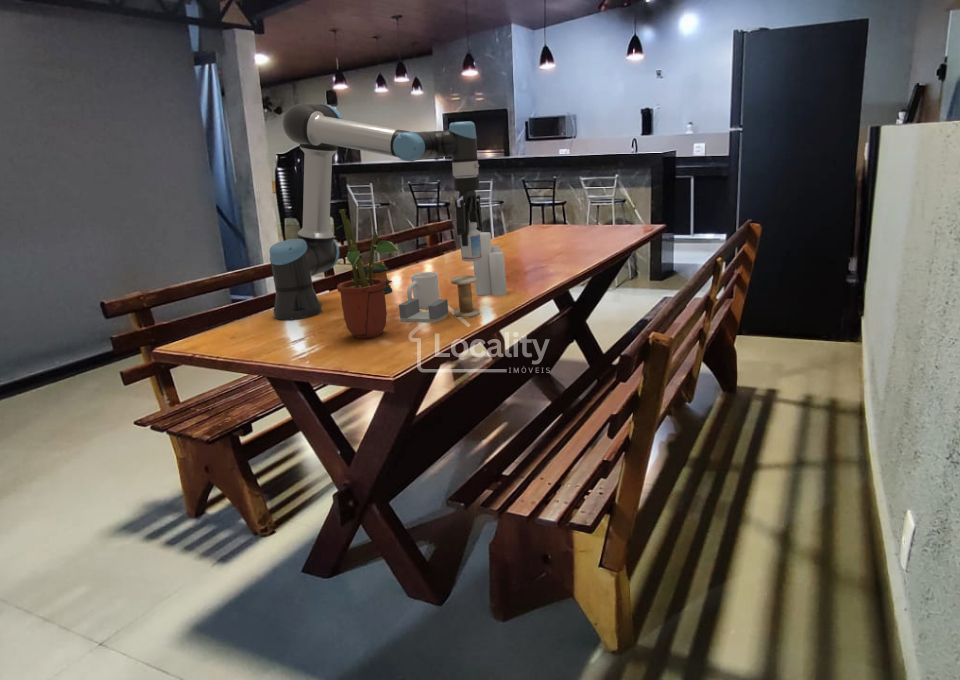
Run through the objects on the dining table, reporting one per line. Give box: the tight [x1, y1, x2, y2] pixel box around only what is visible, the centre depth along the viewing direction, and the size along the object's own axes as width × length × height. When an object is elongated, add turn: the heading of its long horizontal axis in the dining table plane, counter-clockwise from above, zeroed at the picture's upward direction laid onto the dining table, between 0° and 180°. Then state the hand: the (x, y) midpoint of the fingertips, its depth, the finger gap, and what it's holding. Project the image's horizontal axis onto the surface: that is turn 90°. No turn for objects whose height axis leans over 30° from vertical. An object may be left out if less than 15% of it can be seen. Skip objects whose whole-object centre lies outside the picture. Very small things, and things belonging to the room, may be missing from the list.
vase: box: [472, 231, 508, 297], centre depth 222 cm, size 11×7×20 cm, turn 66°
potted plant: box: [336, 208, 401, 340], centre depth 183 cm, size 17×16×35 cm
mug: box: [406, 271, 441, 310], centre depth 211 cm, size 12×8×10 cm
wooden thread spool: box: [450, 275, 480, 318], centre depth 199 cm, size 8×8×11 cm
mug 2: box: [361, 260, 393, 296], centre depth 239 cm, size 13×10×12 cm
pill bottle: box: [459, 221, 482, 263], centre depth 203 cm, size 6×6×11 cm
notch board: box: [398, 297, 450, 323], centre depth 199 cm, size 12×8×5 cm, turn 66°
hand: (471, 254), depth 204 cm, fingers closed on pill bottle, 6 cm apart
